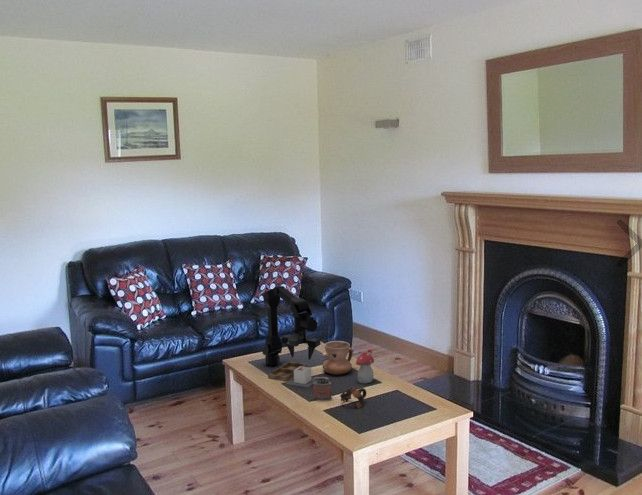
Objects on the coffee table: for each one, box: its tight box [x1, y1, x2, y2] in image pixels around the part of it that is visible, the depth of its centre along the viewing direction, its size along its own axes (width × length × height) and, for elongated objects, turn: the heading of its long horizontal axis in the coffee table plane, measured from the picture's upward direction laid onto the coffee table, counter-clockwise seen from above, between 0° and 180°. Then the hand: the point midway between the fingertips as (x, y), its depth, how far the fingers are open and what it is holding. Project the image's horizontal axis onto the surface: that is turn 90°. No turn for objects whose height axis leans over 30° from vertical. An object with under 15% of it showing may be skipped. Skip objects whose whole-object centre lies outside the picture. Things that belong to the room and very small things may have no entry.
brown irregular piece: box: [340, 387, 367, 409], centre depth 258 cm, size 12×10×8 cm
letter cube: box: [293, 366, 312, 384], centre depth 285 cm, size 6×6×6 cm
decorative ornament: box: [355, 349, 375, 385], centre depth 283 cm, size 9×6×15 cm
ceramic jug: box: [322, 340, 354, 376], centre depth 298 cm, size 18×14×14 cm
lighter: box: [312, 376, 333, 402], centre depth 264 cm, size 8×3×10 cm, turn 84°
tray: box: [267, 361, 308, 382], centre depth 297 cm, size 11×20×2 cm, turn 153°
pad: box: [285, 376, 317, 388], centre depth 286 cm, size 12×12×1 cm
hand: (301, 358), depth 288 cm, fingers open, 9 cm apart
